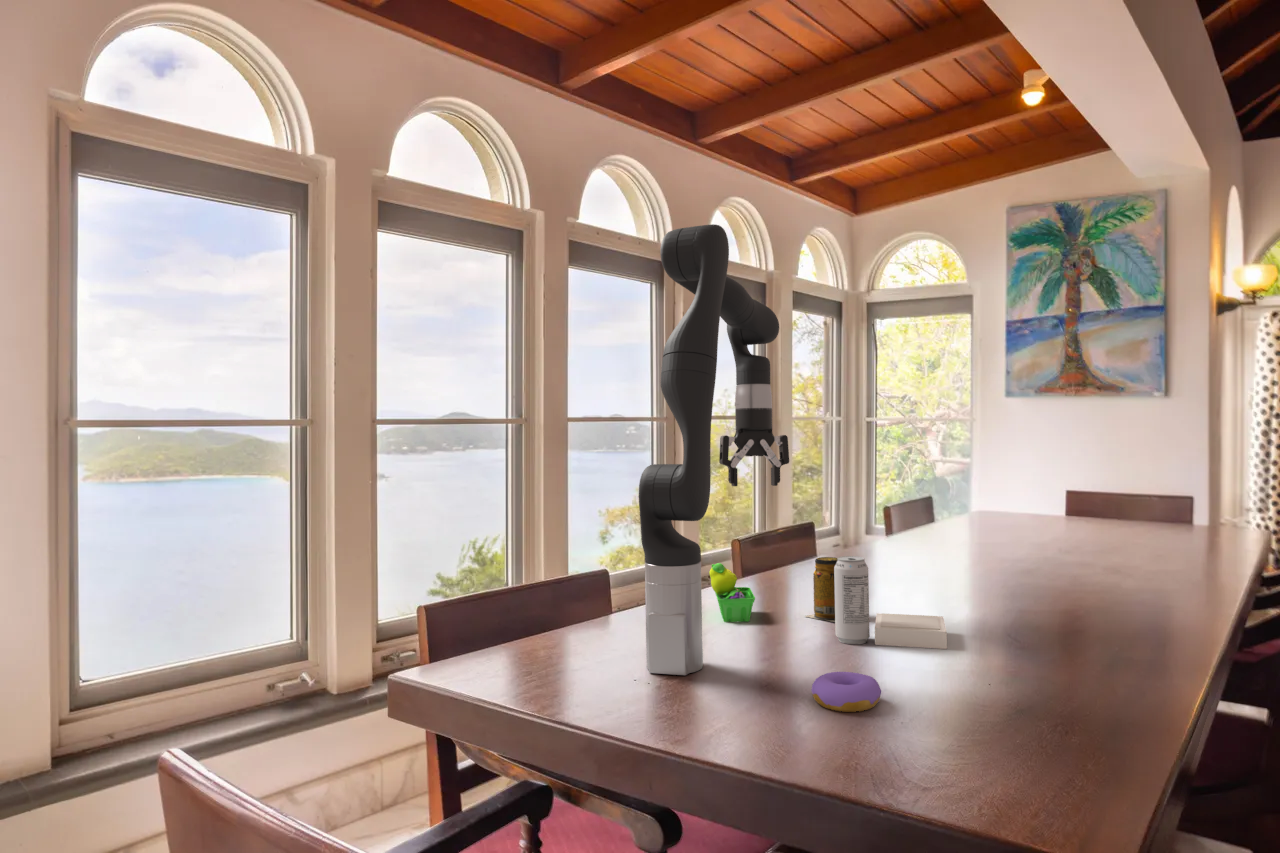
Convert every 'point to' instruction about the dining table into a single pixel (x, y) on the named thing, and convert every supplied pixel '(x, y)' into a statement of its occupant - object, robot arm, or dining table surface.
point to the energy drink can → (851, 600)
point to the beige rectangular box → (910, 631)
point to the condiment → (824, 589)
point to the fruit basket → (731, 595)
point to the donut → (846, 691)
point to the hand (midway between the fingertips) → (754, 485)
